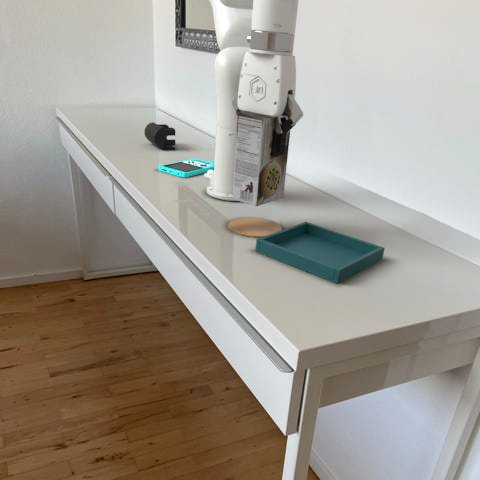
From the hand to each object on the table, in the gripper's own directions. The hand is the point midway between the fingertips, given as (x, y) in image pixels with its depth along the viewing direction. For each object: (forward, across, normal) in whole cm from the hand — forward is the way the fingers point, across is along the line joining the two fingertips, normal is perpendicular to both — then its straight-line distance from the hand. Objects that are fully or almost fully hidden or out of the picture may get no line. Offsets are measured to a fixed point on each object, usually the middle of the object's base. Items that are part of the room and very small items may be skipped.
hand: (262, 150), depth 96 cm
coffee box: (+9, 0, 0) cm, 9 cm away
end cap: (+15, -69, +34) cm, 79 cm away
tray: (+15, +17, -2) cm, 23 cm away
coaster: (+15, 0, 0) cm, 15 cm away
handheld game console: (+15, -42, +22) cm, 50 cm away
